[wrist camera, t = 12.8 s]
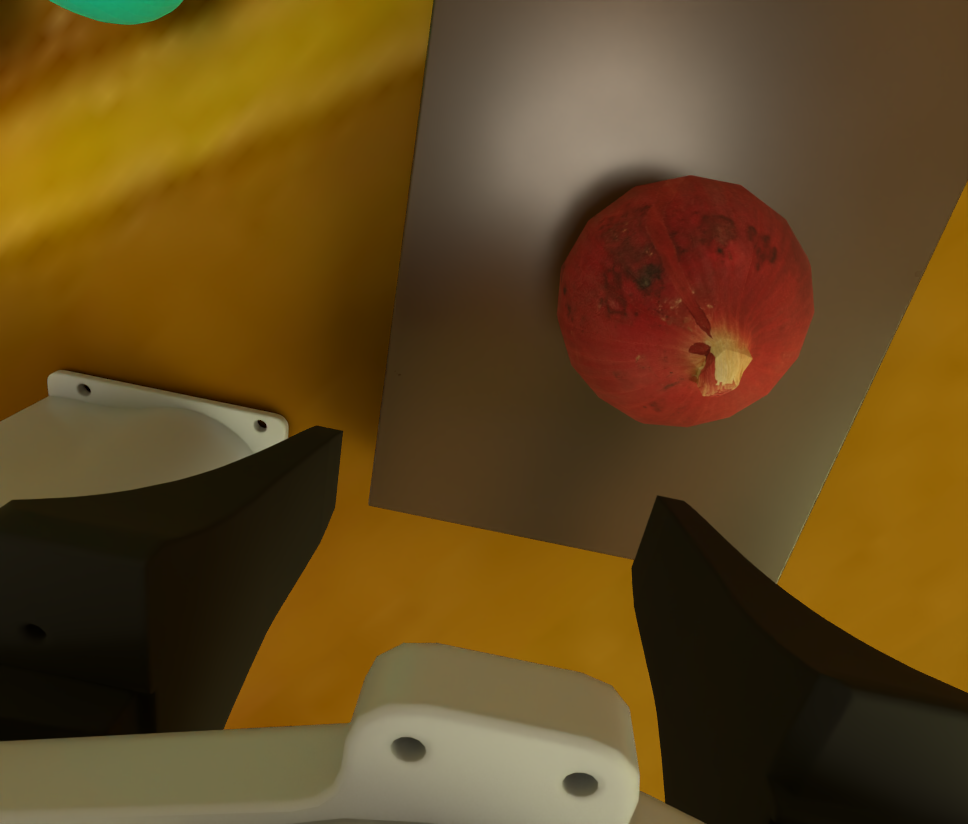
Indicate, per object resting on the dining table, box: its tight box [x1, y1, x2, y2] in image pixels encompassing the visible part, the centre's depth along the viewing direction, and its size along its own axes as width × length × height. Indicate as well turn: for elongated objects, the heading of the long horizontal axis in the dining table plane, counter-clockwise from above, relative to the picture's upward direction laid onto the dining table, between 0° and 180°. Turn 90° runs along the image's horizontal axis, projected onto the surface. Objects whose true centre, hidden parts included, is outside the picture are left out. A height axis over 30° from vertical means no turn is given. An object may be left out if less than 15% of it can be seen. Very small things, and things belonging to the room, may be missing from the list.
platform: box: [369, 0, 968, 584], centre depth 20 cm, size 15×20×3 cm
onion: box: [557, 175, 814, 427], centre depth 15 cm, size 6×6×8 cm
